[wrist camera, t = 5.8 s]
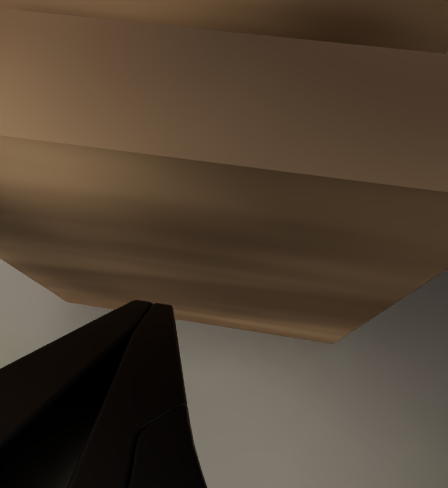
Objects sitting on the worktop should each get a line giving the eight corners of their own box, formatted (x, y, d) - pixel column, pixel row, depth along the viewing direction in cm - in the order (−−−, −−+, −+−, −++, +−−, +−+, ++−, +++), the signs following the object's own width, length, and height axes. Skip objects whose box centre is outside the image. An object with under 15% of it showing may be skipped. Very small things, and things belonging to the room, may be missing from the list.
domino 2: (340, 229, 18) (509, -54, 7) (99, 196, 19) (-88, -102, 8) (343, 182, 19) (497, -135, 8) (112, 153, 20) (-39, -172, 9)
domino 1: (332, 343, 16) (544, 204, 5) (67, 302, 17) (-235, 105, 6) (336, 285, 17) (524, 61, 6) (83, 249, 18) (-154, -8, 7)
